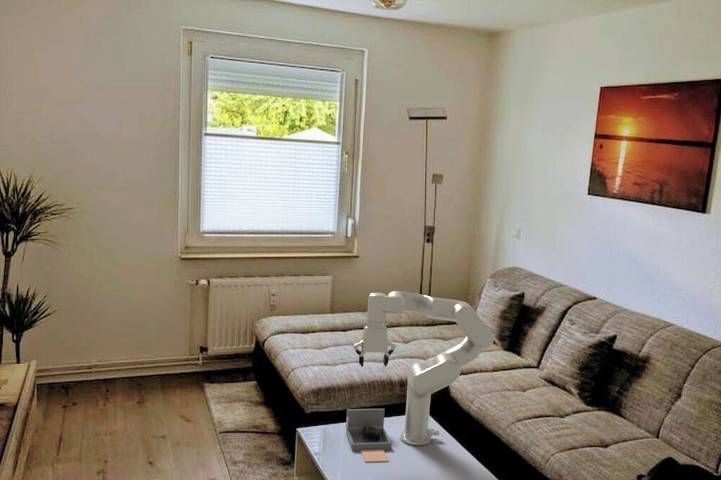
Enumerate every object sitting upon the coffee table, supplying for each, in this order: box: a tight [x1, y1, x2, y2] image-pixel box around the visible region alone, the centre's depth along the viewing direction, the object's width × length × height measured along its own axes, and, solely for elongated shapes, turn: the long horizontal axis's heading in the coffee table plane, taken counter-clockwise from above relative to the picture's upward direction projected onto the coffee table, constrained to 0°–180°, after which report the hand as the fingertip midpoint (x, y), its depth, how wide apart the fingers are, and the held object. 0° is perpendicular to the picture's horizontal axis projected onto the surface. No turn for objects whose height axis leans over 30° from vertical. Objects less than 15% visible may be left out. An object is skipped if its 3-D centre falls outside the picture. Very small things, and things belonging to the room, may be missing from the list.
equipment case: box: [345, 408, 392, 451], centre depth 244 cm, size 16×15×10 cm
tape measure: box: [361, 426, 381, 442], centre depth 246 cm, size 7×7×4 cm
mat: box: [360, 449, 390, 463], centre depth 232 cm, size 9×9×1 cm
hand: (373, 365), depth 244 cm, fingers open, 9 cm apart
